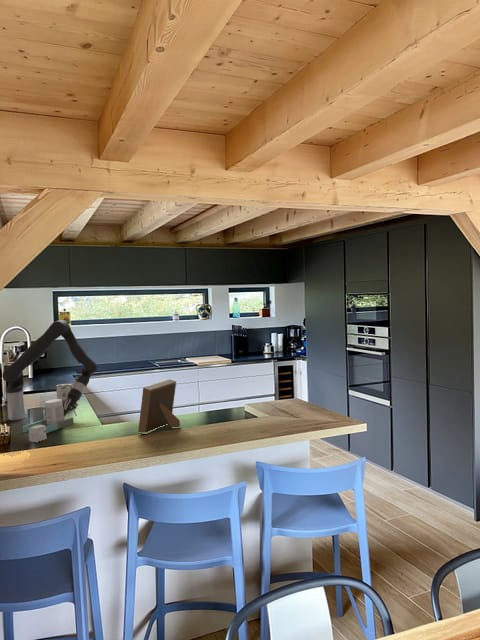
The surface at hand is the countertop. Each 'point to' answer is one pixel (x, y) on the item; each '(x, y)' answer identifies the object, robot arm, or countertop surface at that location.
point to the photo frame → (158, 406)
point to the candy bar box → (63, 391)
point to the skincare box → (37, 433)
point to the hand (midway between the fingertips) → (62, 416)
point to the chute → (50, 427)
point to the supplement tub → (54, 411)
